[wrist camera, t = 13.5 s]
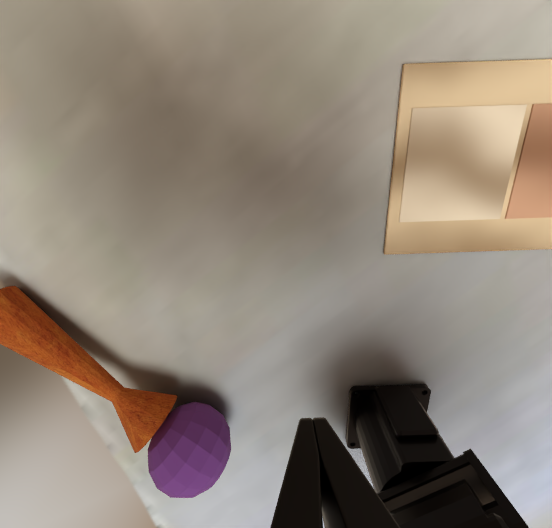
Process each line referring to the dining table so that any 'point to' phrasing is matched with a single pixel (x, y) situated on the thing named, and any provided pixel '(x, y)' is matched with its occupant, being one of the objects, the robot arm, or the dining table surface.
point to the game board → (472, 158)
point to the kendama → (126, 402)
